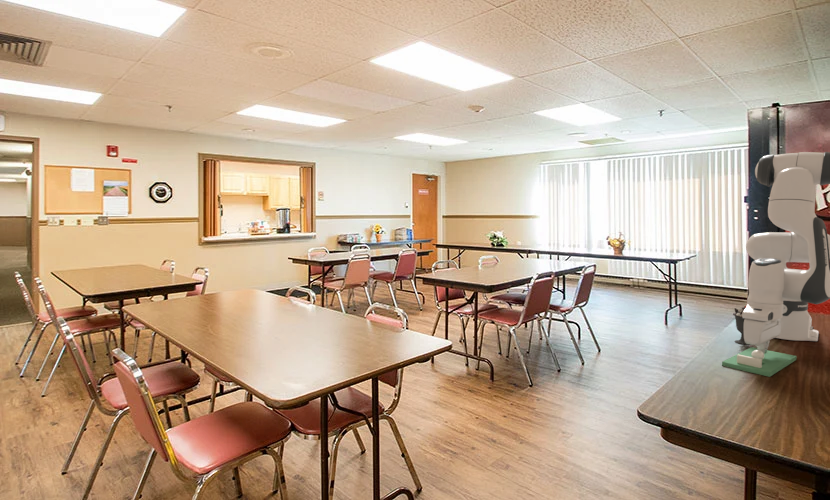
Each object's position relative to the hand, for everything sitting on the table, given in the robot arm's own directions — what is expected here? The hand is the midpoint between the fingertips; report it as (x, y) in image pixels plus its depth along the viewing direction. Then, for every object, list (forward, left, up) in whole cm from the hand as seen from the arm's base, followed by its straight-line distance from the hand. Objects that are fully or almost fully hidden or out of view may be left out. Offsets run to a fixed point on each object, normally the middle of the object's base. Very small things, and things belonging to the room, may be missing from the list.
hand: (762, 353), depth 140 cm
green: (+1, 0, -3) cm, 3 cm away
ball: (+4, 0, 0) cm, 4 cm away
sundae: (-19, -11, -3) cm, 22 cm away
